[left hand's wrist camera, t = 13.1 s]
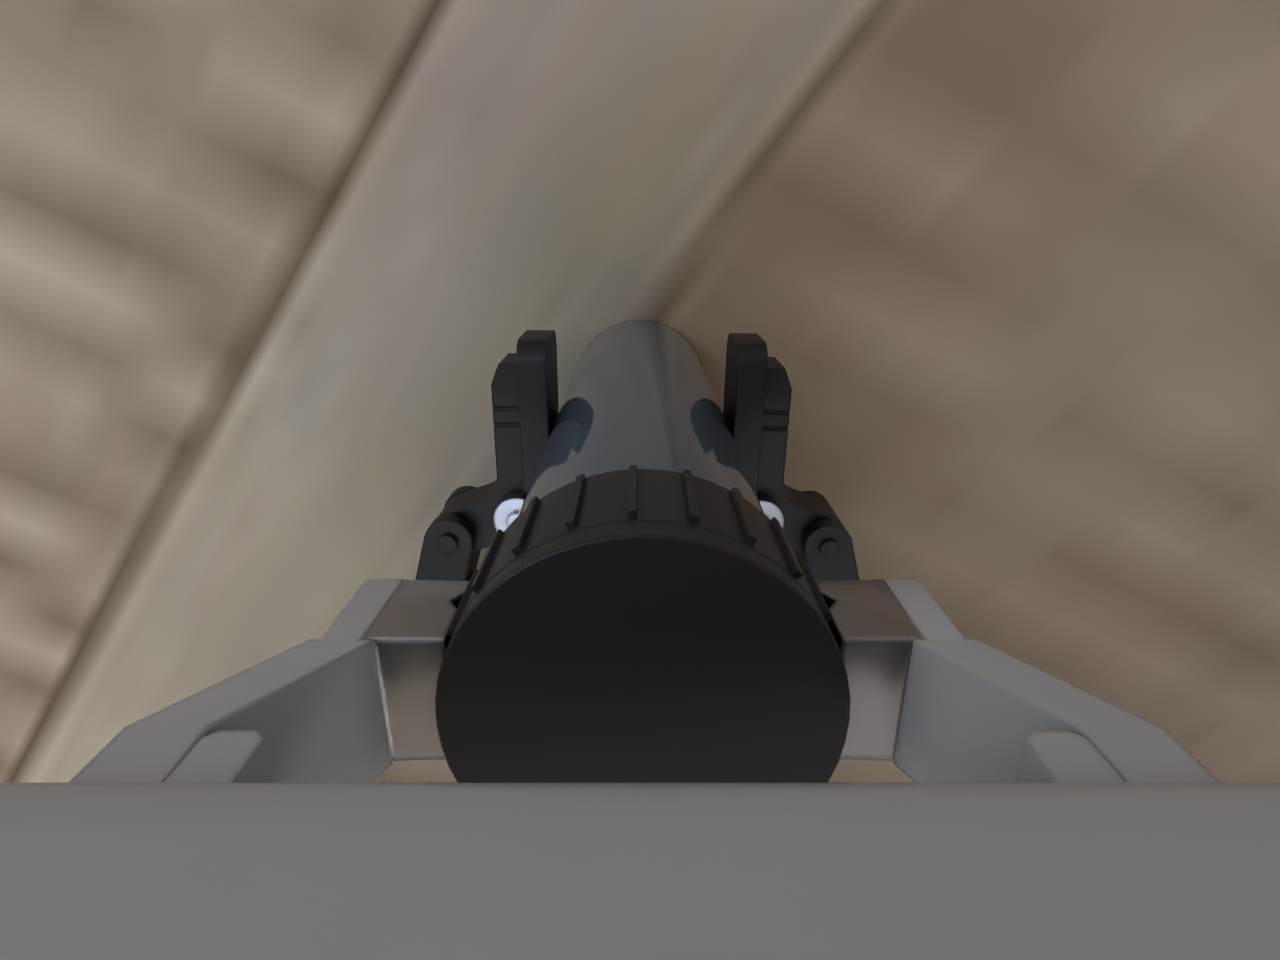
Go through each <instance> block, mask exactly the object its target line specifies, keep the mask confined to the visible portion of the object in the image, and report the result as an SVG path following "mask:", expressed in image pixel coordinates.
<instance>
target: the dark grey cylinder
mask: <svg viewBox="0 0 1280 960" xmlns="http://www.w3.org/2000/svg"><path fill="white" fill-rule="evenodd" d="M629 465H637V468H638V469H654V470H667V471H673V472H678V473H682V472H683V469H686V470H690V471H691V473H692V476H695V477H699V478H702V479H705V480H708V481H711V482H713V483H715V484H718V485H720V486H722V487H724V488H726V489H729V490H732V488H733V487H735V488H737V489H739V490H740V492H741V495H742V497H743V498H744V499H745V500H747V501H749V502H750V503H751V504H753V505H754V506H755V507H756V508H757V509H759V510H760V511H761V512H762V513H764V511H763V508H762V506H761V504H760V501H759V499H758V496H757V494H756V492H755V489H754V487H753V484H752V482H751V480H750V477H749V475H748V473H747V470H746V468H745V465H744V463H743V461H742V458H741V456H740V454H739V451H738V449H737V446H736V444H735V442H734V439H733V437H732V435H731V432H730V430H729V427H728V425H727V423H726V420H725V418H724V416H723V413H722V411H721V408H720V406H719V404H718V401H717V399H716V396H715V394H714V392H713V389H712V387H711V385H710V382H709V380H708V377H707V375H706V373H705V370H704V368H703V366H702V363H701V361H700V359H699V356H698V354H697V353H696V351H695V349H694V348H693V346H692V345H691V344H690V343H689V342H688V340H687V339H685V338H684V337H683V336H682V335H681V334H680V333H678V332H677V331H675V330H674V329H672V328H670V327H668V326H666V325H663V324H660V323H657V322H652V321H644V320H637V321H628V322H623V323H620V324H617V325H615V326H613V327H611V328H609V329H607V330H605V331H604V332H602V333H601V334H600V335H598V336H597V337H596V338H595V339H594V340H593V341H592V342H591V343H590V345H589V346H588V347H587V349H586V350H585V352H584V353H583V355H582V358H581V360H580V362H579V364H578V367H577V369H576V372H575V374H574V377H573V379H572V382H571V384H570V387H569V389H568V392H567V394H566V397H565V399H564V402H563V404H562V407H561V409H560V412H559V414H558V417H557V419H556V422H555V424H554V426H553V429H552V431H551V434H550V436H549V439H548V441H547V444H546V446H545V449H544V451H543V454H542V456H541V459H540V461H539V464H538V466H537V469H536V471H535V474H534V476H533V479H532V481H531V484H530V486H529V489H528V491H527V493H526V496H525V498H524V501H523V503H522V506H521V508H520V511H519V513H518V516H519V515H520V514H521V513H523V512H524V511H525V510H526V509H527V507H528V504H529V502H530V500H531V499H532V498H534V497H535V496H537V497H538V498H539V500H540V499H541V498H543V497H544V496H546V495H547V494H549V493H550V492H552V491H554V490H557V489H559V488H561V487H563V486H565V485H567V484H569V483H571V482H574V481H575V480H576V476H578V475H581V474H584V475H585V478H586V477H589V476H592V475H597V474H602V473H607V472H612V471H617V470H629ZM764 514H765V513H764ZM518 516H517V517H518Z"/></svg>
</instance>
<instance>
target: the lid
mask: <svg viewBox="0 0 1280 960" xmlns="http://www.w3.org/2000/svg"><path fill="white" fill-rule="evenodd" d="M831 620H833V617H832V615H831V613H830V610H829V608H828V606H827V604H826V602H825V600H824V598H823V596H822V594H821V592H820V590H819V588H818V585H817V583H816V581H815V579H814V577H813V575H812V573H811V571H810V569H809V567H808V565H807V563H806V560H805V558H804V556H803V555H801V556H798V557H797V556H796V554H795V552H794V550H793V548H792V547H791V545H790V544H789V542H788V540H787V538H786V535H785V533H784V531H783V529H782V527H781V524H780V522H779V521H778V520H777V519H776V518H775V517H773V518H772V519H771V520H770V519H769V518H768V517H767V516H766V515H765V514H764V513H762V512H761V511H760V510H759V509H757V508H756V507H755V506H754V505H753V504H751V503H750V502H749V501H747V500H745V499H744V498H743V497H742V495H741V492H740V490H739V489H737V488H735V487H733V488H732V490H729V489H726V488H724V487H722V486H720V485H718V484H715V483H713V482H711V481H708V480H705V479H702V478H699V477H695V476H692V473H691V471H690V470H686V469H683V472H682V473H678V472H673V471H667V470H654V469H638V468H637V465H629V470H617V471H612V472H607V473H602V474H597V475H592V476H589V477H586V478H585V475H584V474H581V475H578V476H576V480H575V481H574V482H571V483H569V484H567V485H565V486H563V487H561V488H559V489H557V490H554V491H552V492H550V493H549V494H547V495H546V496H544V497H543V498H541V499H540V500H539V498H538V497H537V496H535V497H534V498H532V499H531V500H530V502H529V504H528V507H527V509H526V510H525V511H524V512H523V513H521V514H520V515H519V516H518V517H517V518H516V519H515V520H514V521H513V522H512V523H511V524H510V525H509V526H508V528H507V529H506V530H505V531H504V532H503V531H502V530H500V529H498V531H497V532H496V533H495V535H494V537H493V539H492V542H491V544H490V546H489V548H488V551H487V553H486V555H485V557H484V559H483V562H482V564H481V566H480V568H479V570H477V569H475V571H474V573H473V576H472V578H471V580H470V582H469V584H468V586H467V588H466V591H465V593H464V595H463V597H462V599H461V601H460V604H459V606H458V608H457V610H456V612H455V614H454V617H453V619H452V621H451V623H450V625H449V627H448V630H447V632H446V635H447V637H450V638H451V640H450V642H449V645H448V647H447V649H446V651H445V654H444V656H443V659H442V663H441V667H440V671H439V674H438V678H437V686H436V696H435V710H436V725H437V729H438V734H439V738H440V743H441V747H442V750H443V752H444V755H445V757H446V760H447V763H448V765H449V768H450V770H451V771H452V773H453V775H454V777H455V778H456V780H457V782H458V783H828V781H829V779H830V777H831V775H832V774H833V772H834V770H835V768H836V766H837V764H838V762H839V759H840V756H841V753H842V750H843V748H844V745H845V741H846V736H847V731H848V726H849V721H850V689H849V682H848V674H847V671H846V668H845V664H844V661H843V657H842V654H841V651H840V649H839V647H838V645H837V643H836V640H835V638H834V636H833V634H832V632H831V629H830V627H829V625H828V623H827V622H829V621H831Z"/></svg>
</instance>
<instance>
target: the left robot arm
mask: <svg viewBox="0 0 1280 960" xmlns="http://www.w3.org/2000/svg"><path fill="white" fill-rule="evenodd" d="M469 582H470V581H448V580H403V579H381V580H367V581H365V582H364V583H363V584H362V585H361V587H360V588H359V589H358V591H357V592H356V593H355V595H354V596H353V597H352V599H351V600H350V601H349V603H348V604H347V605H346V607H345V608H344V609H343V611H342V612H341V613H340V614H339V616H338V617H337V618H336V620H335V621H334V622H333V624H332V625H331V626H330V628H329V629H328V630H327V632H326V633H325V634H324V636H323V637H322V638H321V639H320V640H307V641H305V642H303V643H301V644H299V645H297V646H295V647H293V648H291V649H288V650H286V651H284V652H282V653H280V654H278V655H276V656H274V657H272V658H269V659H267V660H265V661H263V662H261V663H259V664H257V665H255V666H253V667H251V668H248V669H246V670H244V671H242V672H240V673H238V674H236V675H234V676H232V677H229V678H227V679H225V680H223V681H221V682H219V683H217V684H215V685H213V686H211V687H208V688H206V689H204V690H202V691H200V692H198V693H196V694H194V695H192V696H190V697H187V698H185V699H183V700H181V701H179V702H177V703H175V704H173V705H171V706H168V707H166V708H164V709H162V710H160V711H158V712H156V713H154V714H152V715H150V716H147V717H145V718H143V719H141V720H139V721H137V722H135V723H133V724H131V725H128V726H126V727H124V728H123V729H122V730H121V731H120V732H119V733H118V734H117V735H116V736H115V737H114V738H113V739H112V740H111V741H110V742H109V743H108V744H107V745H106V746H105V747H104V748H103V749H102V750H101V751H100V752H99V753H98V754H97V755H96V756H95V757H94V758H93V759H92V760H91V761H90V762H89V763H88V764H87V765H86V766H85V767H84V768H83V769H82V770H81V771H80V772H79V773H78V774H77V775H76V776H75V777H74V778H73V779H72V780H71V781H70V782H69V783H0V960H1280V783H1220V782H1219V781H1218V780H1217V779H1216V778H1215V777H1214V776H1213V775H1212V774H1211V773H1210V772H1209V771H1208V770H1207V769H1206V768H1205V767H1204V766H1203V765H1202V764H1201V763H1200V762H1199V761H1198V760H1197V759H1196V758H1195V757H1194V756H1193V755H1192V754H1191V753H1190V752H1189V751H1188V750H1187V749H1186V748H1185V747H1184V746H1183V745H1182V744H1181V743H1180V742H1179V741H1178V740H1177V739H1176V738H1175V737H1174V736H1173V735H1172V734H1171V733H1170V732H1169V731H1167V730H1166V729H1165V728H1163V727H1161V726H1159V725H1157V724H1155V723H1153V722H1151V721H1149V720H1146V719H1144V718H1142V717H1140V716H1138V715H1136V714H1134V713H1132V712H1130V711H1127V710H1125V709H1123V708H1121V707H1119V706H1117V705H1115V704H1113V703H1111V702H1108V701H1106V700H1104V699H1102V698H1100V697H1098V696H1096V695H1094V694H1091V693H1089V692H1087V691H1085V690H1083V689H1081V688H1079V687H1077V686H1075V685H1072V684H1070V683H1068V682H1066V681H1064V680H1062V679H1060V678H1058V677H1056V676H1053V675H1051V674H1049V673H1047V672H1045V671H1043V670H1041V669H1039V668H1036V667H1034V666H1032V665H1030V664H1028V663H1026V662H1024V661H1022V660H1020V659H1017V658H1015V657H1013V656H1011V655H1009V654H1007V653H1005V652H1003V651H1001V650H998V649H996V648H994V647H992V646H990V645H988V644H986V643H984V642H981V641H979V640H966V639H965V637H964V636H963V635H962V634H961V632H960V631H959V630H958V628H957V627H956V626H955V625H954V623H953V622H952V621H951V619H950V618H949V617H948V616H947V614H946V613H945V612H944V610H943V609H942V608H941V607H940V605H939V604H938V603H937V602H936V600H935V599H934V598H933V596H932V595H931V594H930V593H929V591H928V590H927V589H926V587H925V586H924V585H923V584H922V582H921V581H918V580H916V579H898V580H841V581H816V583H817V585H818V588H819V590H820V592H821V594H822V596H823V598H824V600H825V602H826V604H827V606H828V608H829V610H830V613H831V615H832V617H833V620H831V621H829V622H827V623H828V625H829V627H830V629H831V632H832V634H833V636H834V638H835V640H836V643H837V645H838V647H839V649H840V651H841V654H842V657H843V661H844V664H845V668H846V671H847V674H848V682H849V689H850V721H849V726H848V731H847V736H846V741H845V745H844V748H843V750H842V753H841V756H840V759H851V760H888V761H894V764H895V765H896V766H897V767H898V768H899V769H900V770H902V771H903V772H904V773H905V774H906V775H907V776H908V777H910V778H911V779H912V780H913V781H914V782H915V783H371V782H373V781H374V780H375V779H376V778H377V777H378V776H379V775H381V774H382V773H383V772H384V771H385V770H386V769H387V768H388V767H390V766H391V765H392V761H398V760H433V759H446V757H445V755H444V752H443V750H442V747H441V743H440V738H439V734H438V729H437V725H436V710H435V696H436V686H437V678H438V674H439V671H440V667H441V663H442V659H443V656H444V654H445V651H446V649H447V647H448V645H449V642H450V640H451V638H450V637H447V635H446V632H447V630H448V627H449V625H450V623H451V621H452V619H453V617H454V614H455V612H456V610H457V608H458V606H459V604H460V601H461V599H462V597H463V595H464V593H465V591H466V588H467V586H468V584H469Z"/></svg>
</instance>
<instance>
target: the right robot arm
mask: <svg viewBox="0 0 1280 960" xmlns="http://www.w3.org/2000/svg"><path fill="white" fill-rule="evenodd" d="M491 388H492V404H493V419H494V435H495V451H496V466H497V480H496V481H494V482H492V483H490V484H487V485H484V486H481V487H478V488H476V487H472V486H463V487H460V488H458V489H456V490H455V491H454V492H453V493H452V494H451V495H450V497H449V498H448V500H447V502H446V504H445V507H444V509H443V511H442V512H441V514H440V515H439V517H437V518H436V519H435V520H434V521H433V522H432V524H431V525H430V527H429V528H428V530H427V531H426V534H425V537H424V542H423V546H422V551H421V556H420V561H419V565H418V570H417V575H416V580H448V581H470V580H471V578H472V576H473V573H474V571H475V569H476V568H477V564H478V560H479V555H480V551H481V549H482V548H485V547H488V546H490V544H491V542H492V539H493V537H494V535H495V533H496V532H497V531H498V529H500V530H502V531H503V532H504V531H505V530H506V529H507V528H508V526H509V525H510V524H511V523H512V522H513V521H514V520H515V519H516V518H517V516H518V513H519V511H520V508H521V506H522V503H523V501H524V498H525V496H526V493H527V491H528V489H529V486H530V484H531V481H532V479H533V476H534V474H535V471H536V469H537V466H538V464H539V461H540V459H541V456H542V454H543V451H544V449H545V446H546V444H547V441H548V439H549V436H550V434H551V431H552V429H553V426H554V424H555V422H556V419H557V417H558V414H559V413H558V380H557V347H556V335H555V331H553V330H527V331H526V332H525V333H524V334H523V335H522V336H521V337H520V338H519V339H518V343H517V353H509V354H508V355H507V356H506V357H505V358H504V359H503V360H502V361H501V362H500V363H499V364H498V367H497V370H496V373H495V376H494V379H493V381H492V384H491ZM791 390H792V389H791V386H790V383H789V379H788V376H787V373H786V370H785V368H784V367H783V366H782V365H781V364H780V363H779V362H778V360H777V359H776V358H775V357H768V355H767V345H766V342H765V341H764V340H763V339H762V338H761V337H760V336H759V335H758V334H741V333H730V334H729V336H728V342H727V355H726V372H725V390H724V408H723V416H724V418H725V420H726V423H727V425H728V427H729V430H730V432H731V435H732V437H733V439H734V442H735V444H736V446H737V449H738V451H739V454H740V456H741V458H742V461H743V463H744V465H745V468H746V470H747V473H748V475H749V477H750V480H751V482H752V484H753V487H754V489H755V492H756V494H757V496H758V499H759V501H760V504H761V506H762V508H763V511H764V513H765V515H766V516H767V517H768V518H769V519H770V520H771V519H772V518H773V517H775V518H776V519H777V520H778V521H779V522H780V524H781V527H782V529H783V531H784V533H785V535H786V538H787V540H788V542H789V544H790V545H791V547H792V548H793V550H794V552H795V554H796V556H797V557H798V556H801V555H803V556H804V558H805V560H806V563H807V565H808V567H809V569H810V571H811V573H812V575H813V577H814V579H815V581H841V580H859V576H858V571H857V566H856V560H855V555H854V549H853V544H852V540H851V537H850V535H849V534H848V532H847V531H846V529H845V528H844V526H843V525H842V523H841V522H840V520H839V519H838V517H837V515H836V514H835V512H834V511H833V509H832V508H831V506H830V505H829V503H828V502H827V500H826V499H825V498H824V496H822V495H821V494H820V493H818V492H815V491H803V492H801V491H798V490H795V489H793V488H790V487H788V486H786V485H784V484H783V479H784V468H785V457H786V446H787V434H788V423H789V411H790V401H791Z"/></svg>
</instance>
